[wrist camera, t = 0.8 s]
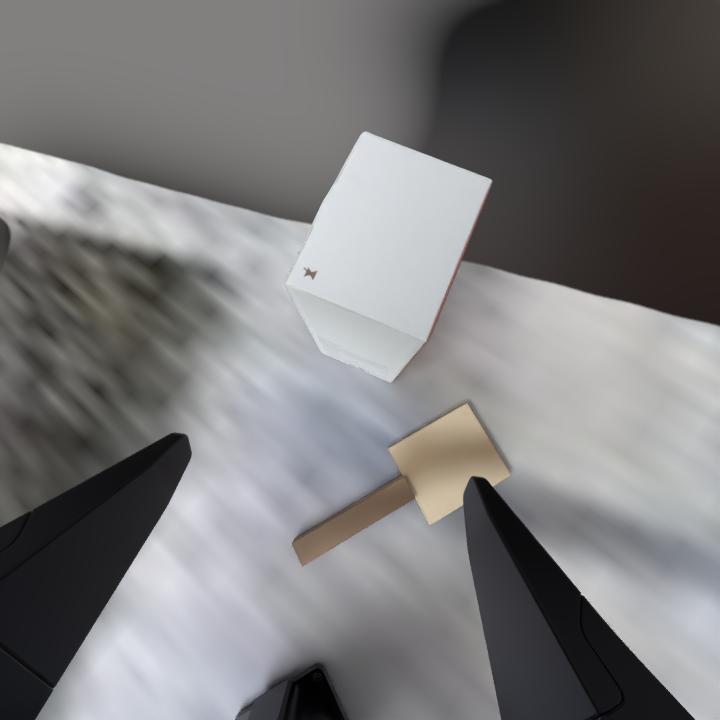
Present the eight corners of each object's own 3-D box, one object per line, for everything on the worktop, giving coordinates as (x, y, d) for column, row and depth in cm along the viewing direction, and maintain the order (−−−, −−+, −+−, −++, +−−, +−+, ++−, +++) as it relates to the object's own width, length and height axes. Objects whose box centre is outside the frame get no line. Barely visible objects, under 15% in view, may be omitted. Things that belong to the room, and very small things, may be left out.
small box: (392, 384, 24) (428, 347, 12) (319, 353, 25) (276, 283, 12) (428, 296, 26) (497, 175, 13) (359, 268, 26) (359, 125, 13)
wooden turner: (507, 473, 23) (513, 476, 22) (318, 590, 21) (317, 598, 20) (464, 403, 24) (469, 402, 23) (281, 509, 22) (277, 513, 21)
